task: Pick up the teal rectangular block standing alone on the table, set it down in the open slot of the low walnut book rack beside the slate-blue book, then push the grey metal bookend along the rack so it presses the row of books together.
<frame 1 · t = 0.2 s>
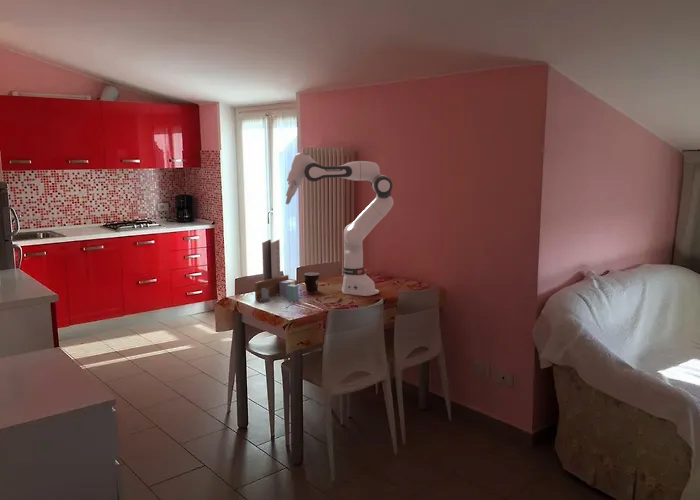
hand: (287, 203, 338), 52 cm above the table, tool tilted 20°, fingers open, 8 cm apart
bookend: (262, 295, 322), point 3 cm above the table, slide at 0.0 cm
teal rectangular block: (292, 299, 328), on the table
brochure: (272, 292, 346), on the table
cream book: (290, 294, 340), on the table
walnut rack: (275, 296, 334), on the table
slate book: (285, 295, 337), on the table
coffee mug: (309, 291, 348), on the table
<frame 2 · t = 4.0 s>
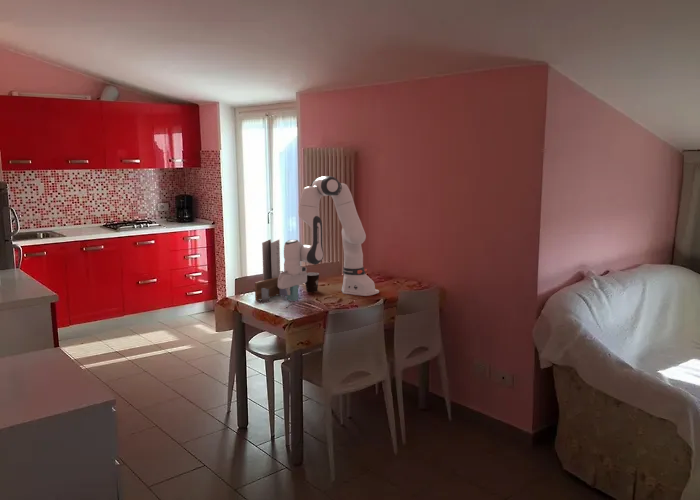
hand: (292, 294, 327), 3 cm above the table, tool pointing down, fingers closed on teal rectangular block, 4 cm apart
teal rectangular block: (292, 299, 328), on the table, touching gripper
everything else where it was.
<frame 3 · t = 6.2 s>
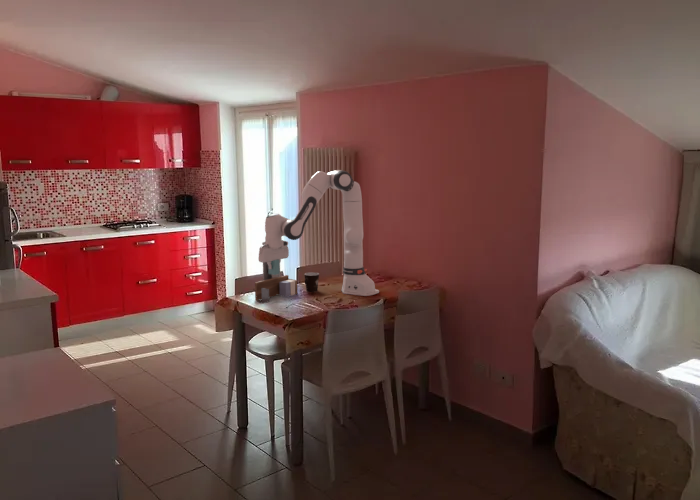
hand: (274, 268, 327), 17 cm above the table, tool pointing down, fingers closed on teal rectangular block, 4 cm apart
teal rectangular block: (274, 273, 328), point 14 cm above the table, touching gripper
everything else where it was.
when the fingers open (5 cm above the table, at t = 8.7 s): teal rectangular block drops 2 cm, on the table.
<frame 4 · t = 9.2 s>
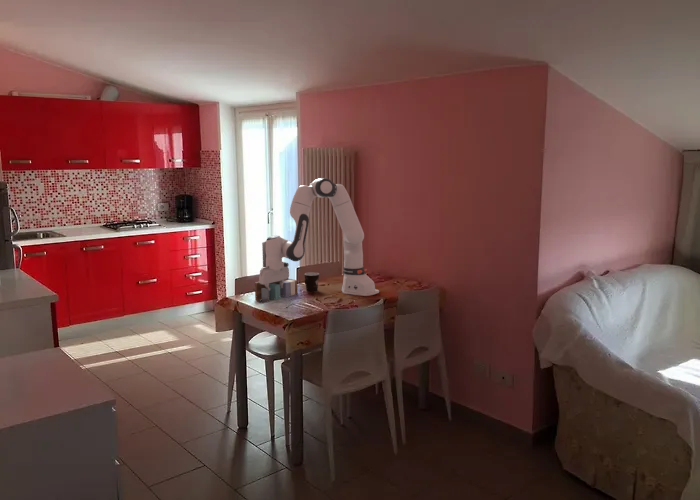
hand: (274, 289, 329), 5 cm above the table, tool pointing down, fingers open, 8 cm apart
teal rectangular block: (274, 298, 330), on the table
everything else where it was.
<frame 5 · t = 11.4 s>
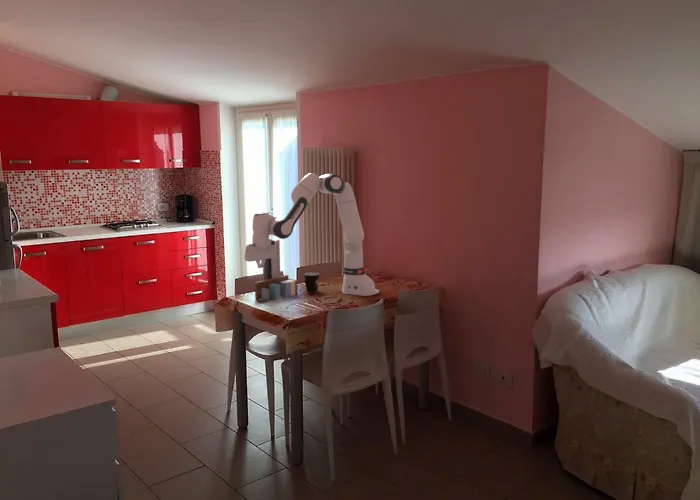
hand: (260, 267, 320), 19 cm above the table, tool pointing down, fingers closed
nothing on the table moved.
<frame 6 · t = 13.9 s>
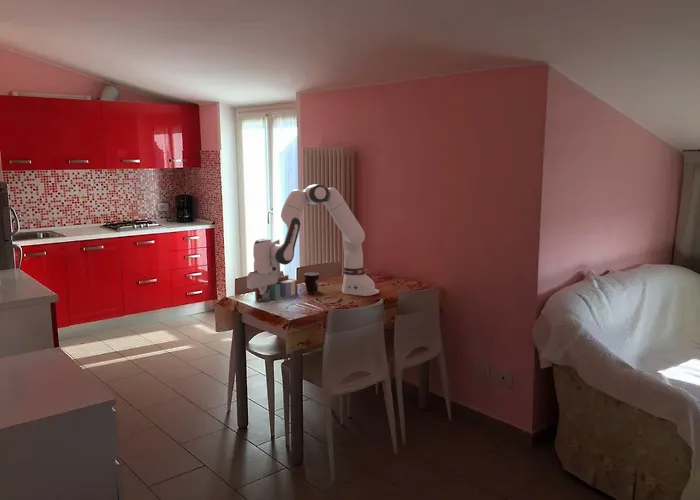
hand: (262, 294, 322), 4 cm above the table, tool pointing down, fingers closed
bookend: (263, 295, 323), point 3 cm above the table, slide at 0.4 cm, touching gripper
everything else where it was.
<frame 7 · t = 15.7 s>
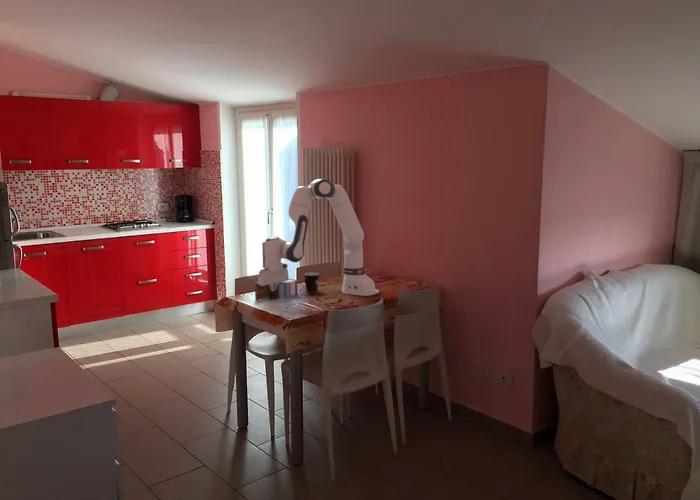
hand: (273, 290, 329), 5 cm above the table, tool pointing down, fingers closed
bookend: (273, 292, 329), point 3 cm above the table, slide at 8.3 cm, touching gripper, teal rectangular block
teal rectangular block: (279, 297, 333), on the table, touching bookend
everything else where it was.
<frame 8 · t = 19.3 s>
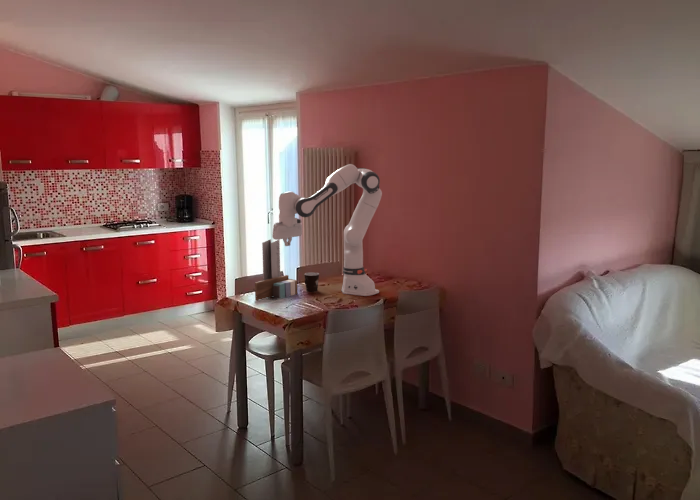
hand: (287, 245, 329), 29 cm above the table, tool pointing down, fingers closed
bookend: (273, 292, 329), point 3 cm above the table, slide at 8.5 cm
teal rectangular block: (279, 297, 333), on the table
everything else where it was.
at the end: teal rectangular block inside the target area (2.1 cm from its centre), on the table; teal rectangular block tilted 0°; bookend slide at 8.5 cm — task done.
